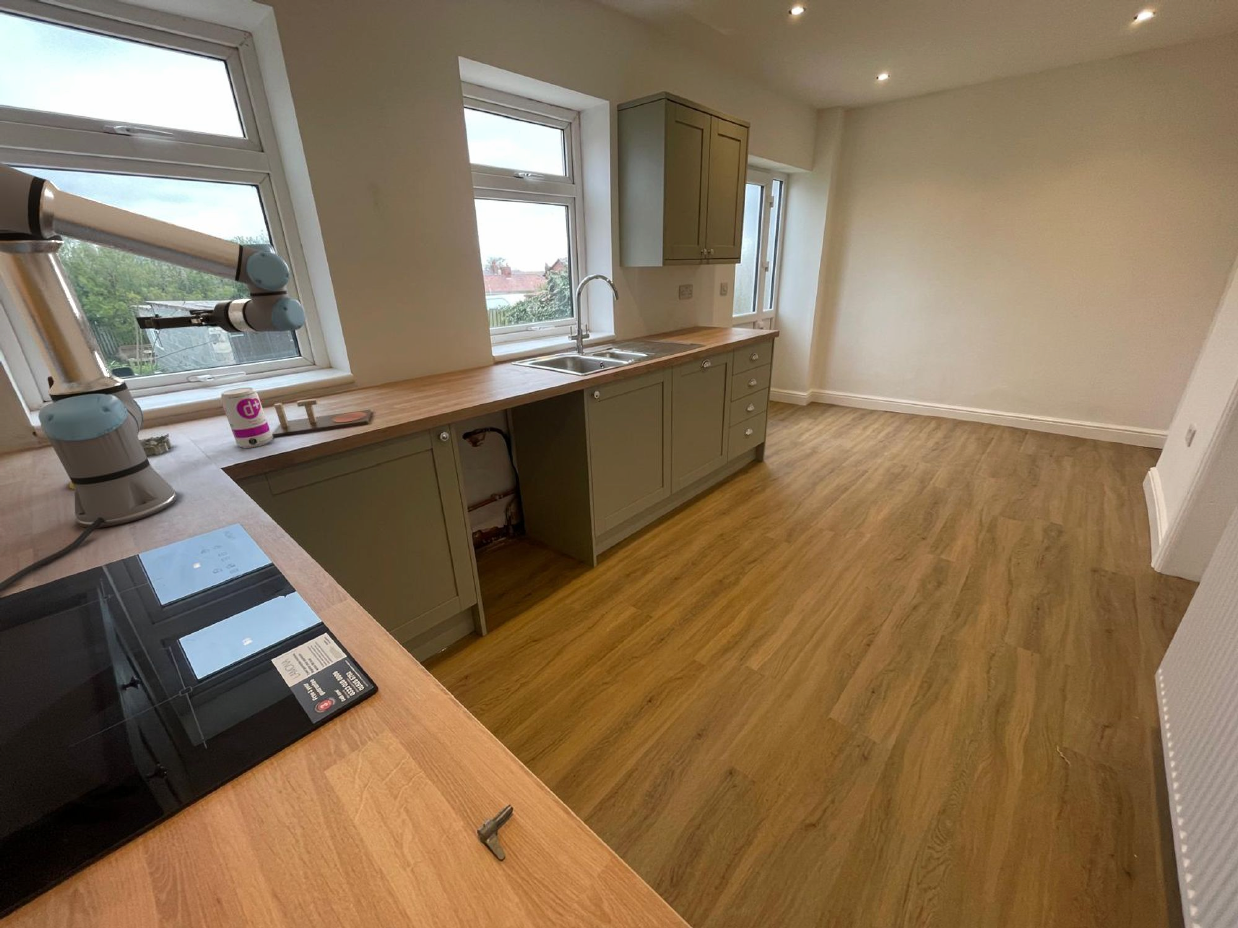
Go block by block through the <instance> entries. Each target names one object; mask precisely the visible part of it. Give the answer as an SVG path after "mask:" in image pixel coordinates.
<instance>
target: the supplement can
mask: <svg viewBox="0 0 1238 928" xmlns="http://www.w3.org/2000/svg"><path fill="white" fill-rule="evenodd" d="M219 400H220V402H221V405H222V408H223V410H224V411H223V412H224V413H225V416H226V419H227V421H228V425H229V427H230V429H231V432H232V435H233V437H234V440H235V442H236V446H238V447H241V448H243V449H250V448H257V447H261V446H265V445H267V444H268V443H270V442H271V441H272V439H273V435H272V432H271V429H270V426H269V423H268V420H267V417H266V414H265V412H264V409H263V405H262V403H261V399H260V397H259V394H258V393H257V392H256V391H255V390H254V388H253V387H239V388H238V387H237V388H233V389H228V390H225V391H223V392H221V396H220V399H219Z"/></svg>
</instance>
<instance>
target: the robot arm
mask: <svg viewBox="0 0 1238 928" xmlns="http://www.w3.org/2000/svg"><path fill="white" fill-rule="evenodd" d="M63 237H64V238H68V239H73V240H74V241H75V240H76V241H80V242H84V243H87V244H92V245H96V246H99V247H103V248H107V249H110V250H114V251H118V252H122V253H126V254H129V255H133V256H138V257H142V258H146V259H150V260H152V261H153V260H154V261H157V262H161V263H164V264H168V265H173V266H176V267H181V268H183V269H188V270H191V271H192V270H193V271H196V272H200V273H204V274H208V275H212V276H215V277H219V278H222V279H227V280H230V281H234V282H237V283H242V284H245V285H246V287H247V290H248V293H249V296H250V299H236V300H235V299H234V300H233V299H231V300H220V301H219V302H217V303H216V304H215V305H214V308H205V309H189V310H188V311H189V314H181V315H179V314H178V315H170V316H162V315H160V314H159V313H154V316H151V315H150V316H136V317H135V319H136V321H137V324H138V326H139V330H152V329H153V330H155V331H160V330H168V329H179V328H194V327H197V328H203V327H212V328H213V327H214V328H215V327H219V328H220V329H222V330H223V331H225V332H227V333H230V334H232V333H233V334H234V333H251V332H253V334H254V335H258V334H260V332H261V333H262V332H264V333H265V332H282V333H283V332H288V331H297V330H300V329H302V328H303V326H304V325H305V323H306V318H307V317H306V311H305V308H304V307H303V306H302V305H301V303H300V301H299V300H298V299H296V298H292V297H289V293H288V290H287V288H286V285H287V284H288V283H289V281H290V278H291V272H290V268H289V266H288V264H287V262H286V261H285V260H284V259H283V258H282V257H281V256H279V255H278V254H277V253H276V251H275V249H274V247H273V245H272V244H269V243H249V244H248V243H247V244H240V243H237V242H235V241H231V240H227V239H224V238H220V237H217V236H214V235H211V234H208V233H204V232H201V231H197V230H194V229H190V228H188V227H184V226H182V225H181V226H180V225H177V224H174V223H172V222H168V221H164V220H161V219H158V218H154V217H151V216H147V215H145V214H141V213H139V212H134V211H131V210H128V209H124V208H122V207H118V206H114V205H111V204H107V203H106V202H101V201H98V200H94V199H92V198H88V197H85V196H81V195H78V194H75V193H71V192H68V191H65V190H61V189H59V188H58V187H57V186H56V184H55V183H54V182H53V181H51V180H49V179H45V178H43V177H39V176H36V175H33V174H31V173H27V172H24V171H22V170H20V169H16V168H14V167H11V166H9V165H7V164H5V163H4V162H1V161H0V276H1V278H2V280H3V281H4V284H5V286H6V287H7V290H8V292H9V294H10V296H11V298H12V300H13V302H14V304H15V306H16V308H17V310H18V312H19V314H20V316H21V318H22V320H23V322H24V324H25V326H26V328H27V330H28V332H29V334H30V336H31V338H32V340H33V342H34V344H35V346H36V349H37V350H38V352H39V354H40V356H41V358H42V360H43V362H44V363H45V366H46V368H47V371H48V372H49V374H50V376H52V378H53V380H54V384H53V386H52V387H51V388H50V389H48V391H47V394H48V395H49V397H50V399H51V402H52V403H49V404H46V405H45V406H43V407H42V408H41V409H40V411H39V412H38V414H37V415H38V420H39V423H40V428H41V430H42V431H43V433H44V434H45V435H46V437H47V438H48V440H49V443H50V444H51V446H52V448H53V450H54V452H55V454H56V456H57V457H58V459H59V461H60V463H61V465H62V466H63V468H64V471H65V472H66V474H67V476H68V478H69V480H70V481H72V483H73V486H74V489H73V491H74V514H75V518H76V520H77V522H78V524H79V526H80V527H82V528H86V529H85V530H84V531H82V532H81V534H79V536H78V537H77V538H76V539H75V540H74V541H73V542H71V543H70V544H69V545H67V546H66V547H64V548H62V549H60V550H58V551H57V552H55V553H52V554H51V555H49V556H46V557H44V558H42V559H40V560H37V561H36V562H33V563H32V564H30V565H28V566H26V567H24V568H23V569H21V570H19V571H16V573H14V574H12V575H11V576H9V577H8V578H6V579H5V580H3V581H2V582H0V592H2V591H3V590H5V589H6V588H7V587H9V586H10V585H12V584H14V583H15V582H16V581H18V580H19V579H21V578H22V577H25V576H26V575H28V574H29V573H31V572H33V571H34V570H36V569H38V568H40V567H42V566H45V565H46V564H49V563H51V562H53V561H55V560H57V559H59V558H61V557H63V556H64V555H67V554H69V552H71V551H73V550H75V549H76V548H77V547H79V546H80V545H81V544H82V543H84V541H85V540H86V539H87V538H88V537H89V536H90V535H91V534H92V533H93V532H94V531H96V529H102V528H109V527H114V526H115V527H116V526H120V525H123V524H128V523H131V522H134V521H138V520H142V519H144V518H147V517H150V516H153V515H154V514H157V513H159V512H161V511H163V510H165V509H167V508H168V507H170V506H172V504H174V503H175V502H176V501H177V499H178V495H177V493H176V491H175V489H174V488H173V486H172V485H170V484H169V483H168V481H166V480H165V478H164V477H162V476H161V475H160V474H159V473H158V472H157V471H156V470H155V469H154V468H153V467H152V465H151V463H150V461H149V458H148V456H146V454H145V452H144V450H143V447H142V445H141V443H140V441H139V440H140V439H139V433H140V431H141V430H142V428H143V425H144V413H143V409H142V408H141V406H140V405H139V403H138V402H137V401H136V400H135V399H134V398H133V396H132V394H131V392H130V390H129V387H128V384H127V382H126V381H125V380H124V378H121V377H119V376H117V375H114V374H113V373H112V372H111V370H110V367H109V365H108V362H107V360H106V358H105V356H104V354H103V351H102V349H101V347H100V344H99V342H98V341H97V338H96V336H95V334H94V331H93V329H92V327H91V325H90V323H89V320H88V317H87V316H86V314H85V311H84V309H83V307H82V304H81V302H80V300H79V298H78V296H77V294H76V291H75V289H74V287H73V285H72V283H71V280H70V278H69V276H68V274H67V271H66V269H65V266H64V265H63V263H62V260H61V258H60V256H59V250H60V249H61V248H62V247H63V245H64V243H65V242H64V240H63Z"/></svg>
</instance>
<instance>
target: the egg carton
mask: <svg viewBox="0 0 1238 928" xmlns="http://www.w3.org/2000/svg"><path fill="white" fill-rule="evenodd" d="M139 441H140V443H141V445H142V447H143V450H144V452H145V454H146V456H147V457H148V456H150V455H156V456H158V455H162V454H164V453H167V452H169V451H170V450H169V449H170V448H172V447H173V445H172V442H171V440H170V434H169V433H166V434H165V435H160V436H156V437H153V436H151V437H149V438H143V439H139Z"/></svg>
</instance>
